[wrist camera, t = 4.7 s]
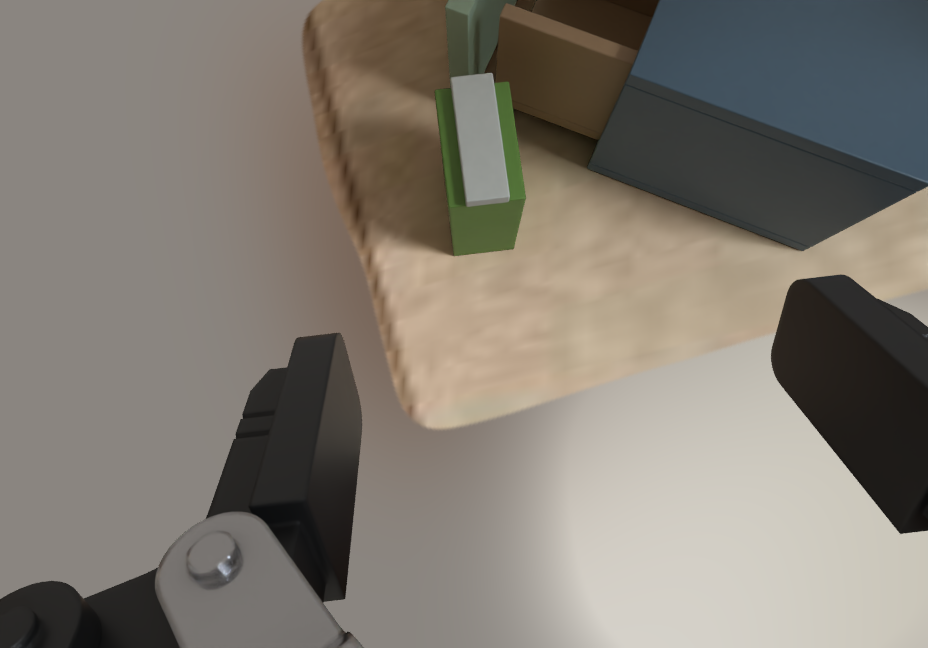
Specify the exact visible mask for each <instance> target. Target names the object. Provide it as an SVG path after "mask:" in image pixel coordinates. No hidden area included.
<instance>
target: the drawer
mask: <svg viewBox="0 0 928 648" xmlns="http://www.w3.org/2000/svg"><path fill="white" fill-rule="evenodd" d="M516 2H517V0H448V2H447V4H446V6H445V11H446V27H447V42H448V58H449V73H450V79H451V77H458V76H467V75H475V74H484V72H485V70H486V67H487V65H488V63H489V61H490V59H491V56H492V54H493V52H494V50H495V48H496V45H497V43H498V49H497V63H496V78H495V83H498V82H507V81H508V82H509V85H510V92H511V99H512V106H513V108H514V109H517V110H520V111H522V112H525V113H528V114H530V115H533V116H535V117H538V118H541V119H543V120H546V121H549V122H551V123H554V124H557V125H559V126H562V127H564V128H567V129H570V130H572V131H575V132H578V133H580V134H583V135H586V136H588V137H591V138H593V139H596V140H599V139H600V137H601V134H602V132H603V130H604V128H605V126H606V123H607V121H608V119H609V117H610V114H611V112H612V110H613V108H614V105H615V103H616V101H617V99H618V97H619V94H620V92H621V90H622V88H623V85H624V83H625V81H626V79H627V76H628V74H629V72H630V70H631V67H632V65H633V62H634V60H635V58H636V55H637V53H638V50H639V48H640V45H641V43H642V41H643V38H644V36H645V33H646V31H647V28H648V26H649V23H650V21H651V19H652V16H653V14H654V11H655V9H656V6H657V4H658V2H659V0H536V2H535V4H534V6H533V9H532V11H531V12H530V11H527V10H524V9H522V8H519V7H516V6H515V4H516ZM450 88H451V81H450Z"/></svg>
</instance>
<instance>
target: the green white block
mask: <svg viewBox="0 0 928 648" xmlns="http://www.w3.org/2000/svg"><path fill="white" fill-rule="evenodd" d="M450 81H451V88H447V89H438V90H435V100H436V109H437V118H438V126H439V135H440V144H441V153H442V162H443V170H444V178H445V187H446V195H447V203H448V212H449V220H450V228H451V237H452V245H453V253H454V256H459V255H467V254H476V253H484V252H493V251H501V250H509V249H514V245H515V241H516V237H517V232H518V228H519V224H520V220H521V216H522V211H523V207H524V203H525V199H526V195H525V188H524V181H523V175H522V168H521V161H520V154H519V147H518V140H517V133H516V126H515V119H514V113H513V106H512V99H511V92H510V85H509V82H508V81H507V82H498V83H494V79H493V74H492V73H484V74H475V75H467V76H458V77H451V79H450Z"/></svg>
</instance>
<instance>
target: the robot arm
mask: <svg viewBox="0 0 928 648" xmlns="http://www.w3.org/2000/svg"><path fill="white" fill-rule="evenodd" d="M771 362H772V368H773V371H774V374H775V376H776V378H777V380H778V382H779V383H780V384H781V386H782V387H783V388H784V390H785V391H786V392H787V393H788V395H789V396H790V397H791V398H792V399H793V401H794V402H795V403H796V405H797V406H798V407H799V408H800V409H801V411H802V412H803V413H804V415H805V416H806V417H807V418H808V419H809V420H810V422H811V423H812V424H813V426H814V427H815V428H816V429H817V431H818V432H819V433H820V434H821V436H822V437H823V438H824V439H825V441H826V442H827V443H828V444H829V446H830V447H831V448H832V449H833V451H834V452H835V453H836V454H837V455H838V457H839V458H840V459H841V460H842V462H843V463H844V464H845V465H846V467H847V468H848V469H849V471H850V472H851V473H852V474H853V476H854V477H855V478H856V479H857V480H858V482H859V483H860V484H861V485H862V487H863V488H864V489H865V490H866V492H867V493H868V494H869V495H870V497H871V498H872V499H873V500H874V502H875V503H876V504H877V505H878V507H879V508H880V509H881V510H882V512H883V513H884V514H885V515H886V517H887V518H888V519H889V520H890V522H891V523H892V524H893V525H894V527H895V528H896V529H897V530H898V531H899V533H900V534H903V533H911V532H919V531H928V327H927V326H926V325H924V324H923V323H922V322H921V321H919V320H918V319H917V318H915V317H914V316H913V315H912V314H910V313H908V312H905V311H903V310H901V309H899V308H897V307H894V306H892V305H890V304H888V303H886V302H884V301H881V300H879V299H876V298H875V297H874V296H872V295H871V294H870V293H869V292H868V291H866V290H865V289H864V288H863V287H861V286H860V285H859V284H858V283H856V282H855V281H854V280H853V279H851V278H850V277H848V276H846V275H834V276H825V277H817V278H808V279H800V280H796V281H795V282H793V283H792V285H791V286H790V288H789V290H788V292H787V296H786V299H785V303H784V307H783V310H782V314H781V317H780V321H779V325H778V328H777V332H776V335H775V339H774V343H773V346H772V351H771ZM361 435H362V414H361V405H360V399H359V395H358V391H357V387H356V384H355V380H354V376H353V373H352V369H351V365H350V361H349V358H348V354H347V350H346V347H345V343H344V340H343V337H342V335H341V334H340V333H332V334H325V335H316V336H308V337H299V338H297V339H296V340H295V343H294V346H293V350H292V353H291V357H290V360H289V364H288V367H287V368H279V369H270V370H269V371H268V372H267V373H266V374H265V375H264V377H263V378H262V379H261V380H260V381H259V382H258V383H257V384H256V386H255V387H254V388H253V389H252V390H251V391H250V394H249V397H248V400H247V403H246V406H245V409H244V411H243V419H241V420H240V423H239V426H238V429H237V432H236V439H234V441H233V443H232V446H231V449H230V452H229V455H228V458H227V460H226V463H225V466H224V469H223V472H222V475H221V478H220V480H219V483H218V486H217V489H216V492H215V495H214V498H213V501H212V503H211V506H210V509H209V512H208V515H207V517H206V519H205V520H203V521H201V522H199V523H197V524H196V525H194V526H193V527H191V528H190V529H188V530H187V531H186V532H184V533H183V534H182V535H181V536H180V537H179V538H178V539H177V540H176V541H175V542H174V543H173V544H172V545H171V547H170V548H169V549H168V551H167V552H166V553H165V555H164V557H163V559H162V560H161V562H160V564H159V567H158V568H156V569H155V570H152V571H150V572H148V573H146V574H144V575H141V576H139V577H137V578H134V579H132V580H129V581H126V582H124V583H122V584H119V585H117V586H114V587H112V588H109V589H107V590H104V591H102V592H99V593H97V594H94V595H92V596H89V597H87V598H84V599H83V598H82V597H81V596H80V594H79V593H78V592H77V591H76V590H75V589H74V588H73V587H72V586H70V585H68V584H66V583H63V582H57V581H48V582H40V583H36V584H32V585H29V586H26V587H24V588H21V589H18V590H16V591H15V592H12V593H10V594H8V595H7V596H5V597H3V598H2V599H0V648H364V647H363V646H362V645H361V644H360V642H359V641H358V640H357V639H356V638H355V637H354V636H353V635H352V634H351V633H350V632H347V633H345V632H344V631H343V630H342V628H341V627H340V626H339V625H338V623H337V622H336V621H335V619H334V618H333V616H332V615H331V613H330V612H329V611H328V609H327V608H326V607H325V605H324V604H323V602H325V601H333V600H342V599H345V595H346V585H347V575H348V565H349V554H350V545H351V535H352V525H353V515H354V505H355V504H354V503H355V495H356V485H357V475H358V465H359V455H360V445H361Z"/></svg>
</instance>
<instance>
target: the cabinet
mask: <svg viewBox="0 0 928 648" xmlns="http://www.w3.org/2000/svg"><path fill="white" fill-rule="evenodd" d="M587 168H588V169H590V170H592V171H595V172H598V173H600V174H603V175H606V176H608V177H611V178H613V179H616V180H619V181H621V182H624V183H626V184H629V185H632V186H634V187H637V188H639V189H642V190H645V191H647V192H650V193H652V194H655V195H658V196H660V197H663V198H665V199H668V200H671V201H673V202H676V203H678V204H681V205H684V206H686V207H689V208H691V209H694V210H697V211H699V212H702V213H704V214H707V215H710V216H712V217H715V218H718V219H720V220H723V221H725V222H728V223H731V224H733V225H736V226H738V227H741V228H744V229H746V230H749V231H751V232H754V233H757V234H759V235H762V236H764V237H767V238H770V239H772V240H775V241H777V242H780V243H783V244H785V245H788V246H790V247H793V248H796V249H798V250H801V251H804V250H806V249H808V248H810V247H812V246H814V245H816V244H818V243H819V242H821V241H823V240H825V239H827V238H829V237H831V236H833V235H835V234H837V233H839V232H841V231H843V230H845V229H846V228H848V227H850V226H852V225H854V224H856V223H858V222H860V221H862V220H864V219H866V218H868V217H870V216H872V215H873V214H875V213H877V212H879V211H881V210H883V209H885V208H887V207H889V206H891V205H893V204H895V203H897V202H898V201H900V200H902V199H904V198H906V197H908V196H910V195H912V194H914V193H916V192H917V191H920V190H922V189H924V188H926V187H928V0H659V2H658V4H657V6H656V9H655V11H654V14H653V16H652V19H651V21H650V23H649V26H648V28H647V31H646V33H645V36H644V38H643V41H642V43H641V45H640V48H639V50H638V53H637V55H636V58H635V60H634V62H633V65H632V67H631V70H630V72H629V74H628V76H627V79H626V81H625V83H624V85H623V88H622V90H621V92H620V94H619V97H618V99H617V101H616V103H615V105H614V108H613V110H612V112H611V114H610V117H609V119H608V121H607V123H606V126H605V128H604V130H603V132H602V134H601V137H600V139H599V140H598V142H597V144H596V147H595V149H594V152H593V154H592V157H591V159H590V161H589V164H588V166H587Z"/></svg>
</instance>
